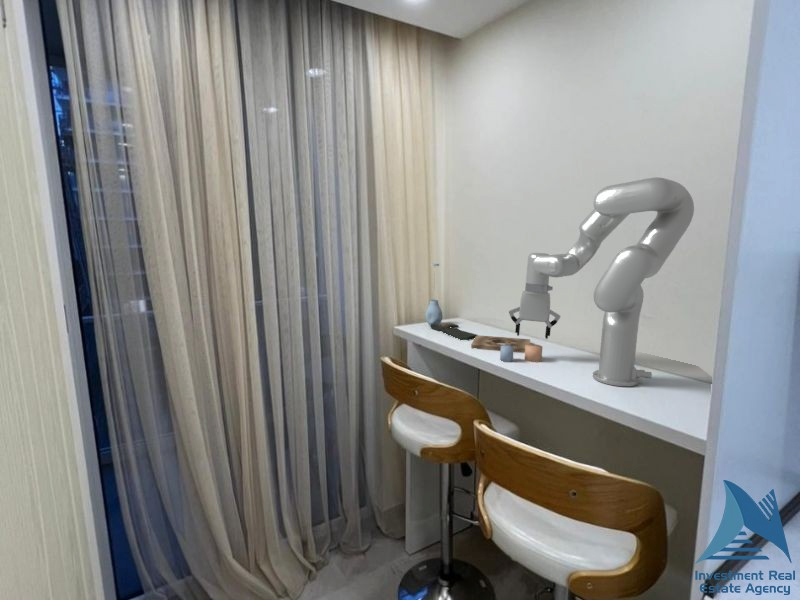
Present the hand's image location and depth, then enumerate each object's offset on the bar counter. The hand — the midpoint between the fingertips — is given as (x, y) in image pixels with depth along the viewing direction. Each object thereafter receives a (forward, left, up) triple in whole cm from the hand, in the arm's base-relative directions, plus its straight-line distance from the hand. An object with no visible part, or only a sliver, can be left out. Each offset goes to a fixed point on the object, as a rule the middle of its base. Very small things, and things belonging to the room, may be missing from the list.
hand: (532, 336), depth 148 cm
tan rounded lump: (-1, 0, -8) cm, 8 cm away
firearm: (+32, -32, -9) cm, 46 cm away
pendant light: (+45, -44, -9) cm, 63 cm away
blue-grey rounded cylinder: (+8, +4, -8) cm, 13 cm away
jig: (+11, -16, -8) cm, 21 cm away
